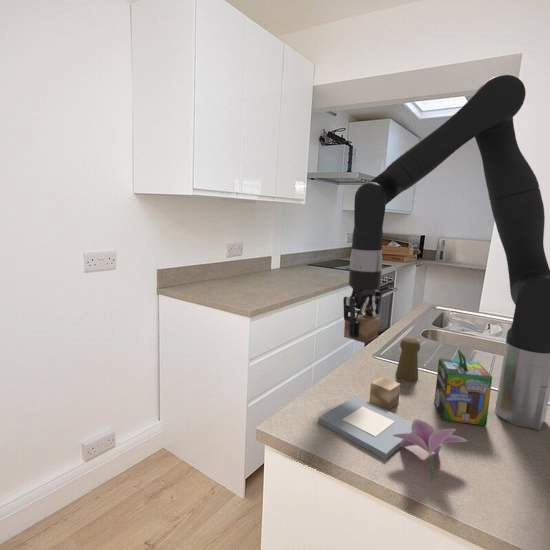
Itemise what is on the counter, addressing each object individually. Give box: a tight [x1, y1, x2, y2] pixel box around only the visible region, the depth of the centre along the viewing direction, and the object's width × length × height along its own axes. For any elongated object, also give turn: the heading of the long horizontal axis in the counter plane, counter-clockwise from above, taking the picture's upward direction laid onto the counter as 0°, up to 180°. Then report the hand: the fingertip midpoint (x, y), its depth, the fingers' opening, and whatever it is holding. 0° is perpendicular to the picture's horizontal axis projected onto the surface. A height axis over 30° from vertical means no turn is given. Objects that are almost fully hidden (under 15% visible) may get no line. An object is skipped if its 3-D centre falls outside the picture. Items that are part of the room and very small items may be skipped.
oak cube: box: [368, 376, 401, 411], centre depth 88 cm, size 5×5×5 cm
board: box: [317, 396, 413, 460], centre depth 78 cm, size 16×14×1 cm
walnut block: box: [343, 313, 380, 344], centre depth 91 cm, size 6×6×5 cm
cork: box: [395, 337, 421, 383], centre depth 102 cm, size 6×6×11 cm
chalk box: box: [433, 348, 493, 426], centre depth 84 cm, size 9×9×15 cm
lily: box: [392, 419, 468, 479], centre depth 66 cm, size 12×12×10 cm
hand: (361, 334), depth 92 cm, fingers closed on walnut block, 6 cm apart
